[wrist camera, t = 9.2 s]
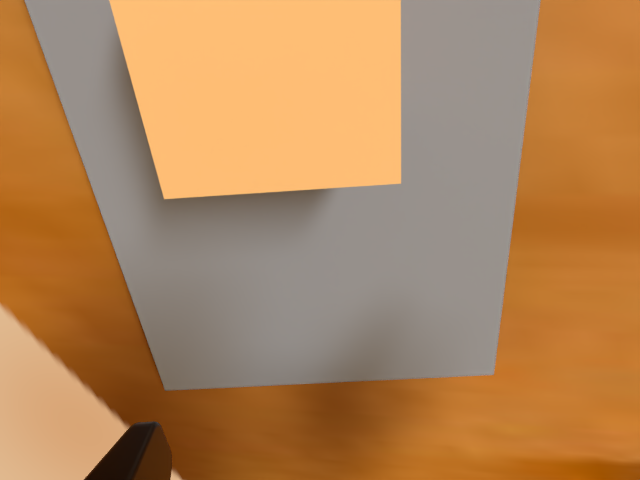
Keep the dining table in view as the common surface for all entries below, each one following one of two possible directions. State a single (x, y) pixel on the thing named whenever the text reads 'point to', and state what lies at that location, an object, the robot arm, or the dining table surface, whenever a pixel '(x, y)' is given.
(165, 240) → the grey base plate
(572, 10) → the dining table surface
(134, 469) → the robot arm
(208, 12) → the orange grooved cube
